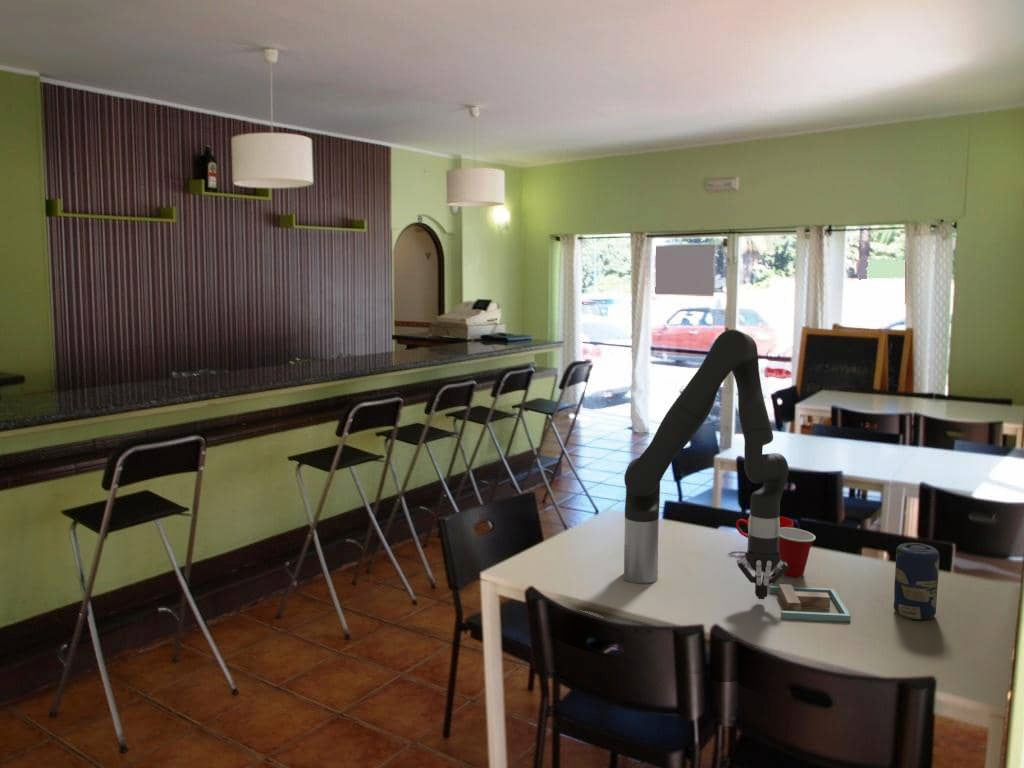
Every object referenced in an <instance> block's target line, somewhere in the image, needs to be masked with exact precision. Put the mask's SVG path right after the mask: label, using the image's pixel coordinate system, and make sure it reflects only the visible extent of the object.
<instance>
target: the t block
mask: <svg viewBox="0 0 1024 768" xmlns="http://www.w3.org/2000/svg"><path fill="white" fill-rule="evenodd" d="M778 586H779V593H778V597H779V596H780V597H779V599H780V600H781V602H782V605H783V607H784V609H785V611H796V612H801V608H803V609H804V608H805V609H823V608H830V609H831V596H829V594H828V593H822V592H799V591H794V589H793V587H794V586H793V585H792V584H790V583H789V584H787V583H785V584H784V583H783V584H782V583H779V584H778Z"/></svg>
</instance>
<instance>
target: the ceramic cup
mask: <svg viewBox="0 0 1024 768" xmlns="http://www.w3.org/2000/svg"><path fill="white" fill-rule="evenodd" d="M749 518H750V516H749V517H748V518H747V520H746V519H744V518H739V519H738V520H736V522H735V527H736V529H737V531H738V533H739V534H741V535H742V536H743V537H744V538H747V539H748V534H747V533H745V532H744V531H743V530H742V529H741V528H740V526H739V525H740V524H739V523H740V522H743V523H744V524H745V525H746V526H747V527H748V526H749ZM779 520H780V528H783V527H787V528H794V521H793V520H792V519H790V518H789V517H785V516H782V515H779Z"/></svg>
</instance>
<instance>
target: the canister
mask: <svg viewBox="0 0 1024 768" xmlns="http://www.w3.org/2000/svg"><path fill="white" fill-rule="evenodd" d="M895 552H896V553H895V571H894V573H895V574H894V583H893V584H894V587H893V588H894V589H893V593H894V594H893V597H894V598H893V609H894V610H895V612H896V613H898V614H899V615H901V616H903V617H905V618H909V619H914V620H929V619H931V618H934V617H935V615H936V614H937V603H938V602H937V601H938V586H939V585H938V584H939V574H940V573H939V571H940V569H939V568H940V567H939V566H940V552H939V550H938V549H937V548H935V547H934V546H931V545H928V544H925V543H920V542H905V543H901V544H898V546H897V547H896V550H895Z"/></svg>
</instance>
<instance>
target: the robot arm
mask: <svg viewBox="0 0 1024 768" xmlns="http://www.w3.org/2000/svg"><path fill="white" fill-rule="evenodd" d="M731 372H732V374H733V377H734V380H735V383H736V384H735V385H736V387H737V388H736V389H737V402H738V403H737V404H738V405H737V407H738V409H737V410H738V418H739V423H740V427H741V431H742V435H743V439H744V448H743V449H744V452H743V453H744V454H743V457H744V459H743V467H744V472H745V475H746V477H747V479H748V480H749V481H751V483H753V484H756V485H758V484H763V486H762V487H760V489H757V490H755V491H753V492H752V493H751V496H750V505H749V506H750V509H749V517H750V518H749V517H748V518H749V526H747V530H748V531H747V532H748V534H747V535H748V538H747V549H746V551H747V552H746V553H745V555H744V558H741V559H738V560H737V561H736V564H737V568H739V569H740V571H741V572H742V573H743V575H744V576H745V577H746V579H748V581H749V582H750V584H751V583H753V584H755V585H754V586H755V587H754V594H755V596H756V597H757V599H758V600H765V598H767V597H768V589H769V588H768V587H769V585H771V584H772V585H774V584H776V583H777V582H778V581H779V580H780V578H782V577H783V576H784V575H783V574H784V573H785V572H786V571H787V570H788V569H789V567H788V565H787V563H786V562H783V561H782V560H781V558H780V556H779V536H780V520H779V516H780V510H781V508H780V507H781V498H782V496H783V493H784V489H785V486H786V483H787V481H788V477H789V465H788V464H789V463H788V461H787V459H786V457H785V456H784V455H783V454H781V453H777V452H773V453H772V452H771V453H765V454H763V449H764V448H763V447H764V446H766V445H768V444H770V443H772V442H773V440H774V433H773V430H772V429H773V428H772V425H771V422H770V421H771V420H770V418H769V415H768V411H767V406H766V403H765V398H764V394H763V388H762V383H761V376H760V365H759V353H758V345H757V343H756V341H755V340H754V339H753V337H751V336H750V335H749V334H748V333H747V334H746V333H745V332H743V331H741V330H738V329H734V328H731V329H728V330H724V331H723V332H722V333H720V334H719V335H718V336H717V338H716V339H715V340H714V342H713V344H712V345H711V347H710V349H709V351H708V352H707V354H706V356H705V358H704V360H703V362H702V363H701V365H700V367H699V368H698V369H697V371H696V373H695V374H694V375H693V376H692V377H691V379H690V380H689V382H688V383H687V385H686V386H685V388H684V389H683V390H682V392H681V393H680V394H679V395H678V397H677V398H676V400H675V401H674V402H673V403H672V405H671V406H670V408H669V409H668V411H666V413H665V415H664V417H663V419H662V420H661V422H660V424H659V426H658V428H657V430H656V432H655V433H654V436H653V438H652V439H651V442H650V443H649V445H648V446H647V447H646V449H645V450H644V451H642V452H643V453H642V454H641V455H640V456H639V457H636V458H634V459H633V460H632V461H630V463H629V464H628V466H627V467H626V470H625V473H624V477H623V480H624V485H625V500H624V501H625V503H624V504H625V505H624V538H623V539H624V541H623V542H624V544H623V545H624V546H623V547H624V549H623V551H624V552H623V581H626V582H627V581H629V582H631V583H635V584H650V583H653V582H656V581H657V580H658V578H659V535H660V534H659V530H660V529H659V528H660V524H659V523H660V519H659V518H660V506H661V505H660V504H661V503H660V500H661V499H660V498H661V481H662V479H663V477H664V475H665V473H666V471H667V470H668V468H669V467H670V465H671V464H672V462H673V461H674V459H675V458H676V457H677V455H679V453H680V452H681V451H683V449H684V448H685V447H686V446H687V444H688V443H689V442H690V441H691V440H692V439H693V438H694V436H695V434H697V432H698V431H699V430H700V428H701V427H702V426H703V425H704V423H705V421H706V420H707V419H708V417H709V415H710V413H711V411H712V409H713V408H714V404H715V401H716V397H717V394H718V392H719V389H720V387H721V385H723V382H724V381H725V379H726V378H727V377H728V376H729V374H730V373H731ZM748 564H749V565H748ZM748 566H750V567H751V568H752V570H753V571H754V575H753V574H752V573H751V572H750V571H749V569H748ZM775 567H777V568H776V569H775ZM774 569H775V570H774ZM772 571H773V572H772ZM771 572H772V573H771Z"/></svg>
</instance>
